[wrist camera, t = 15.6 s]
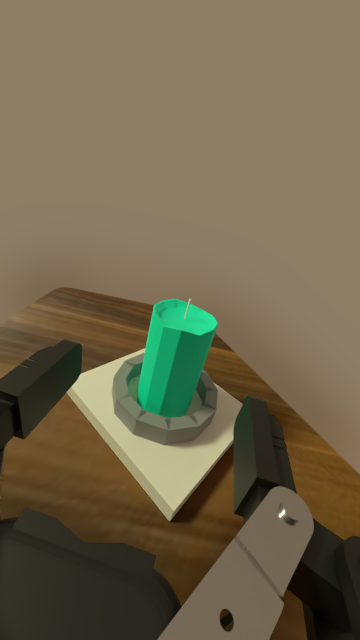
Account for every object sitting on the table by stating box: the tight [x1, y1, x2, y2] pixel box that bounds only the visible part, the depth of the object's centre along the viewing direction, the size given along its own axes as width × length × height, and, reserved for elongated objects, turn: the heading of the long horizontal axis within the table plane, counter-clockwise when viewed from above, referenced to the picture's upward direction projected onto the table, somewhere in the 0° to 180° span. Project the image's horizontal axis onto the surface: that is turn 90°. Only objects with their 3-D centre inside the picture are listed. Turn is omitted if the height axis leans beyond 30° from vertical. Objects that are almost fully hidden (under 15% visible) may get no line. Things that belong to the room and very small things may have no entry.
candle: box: [137, 299, 218, 418], centre depth 23 cm, size 6×6×12 cm
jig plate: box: [67, 348, 243, 522], centre depth 26 cm, size 16×14×4 cm
